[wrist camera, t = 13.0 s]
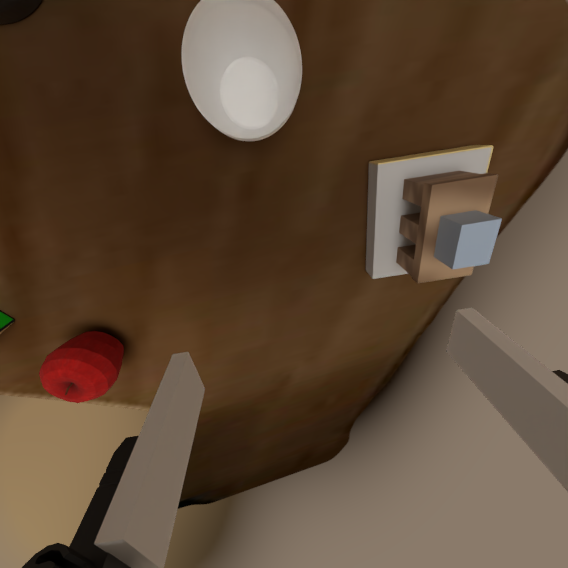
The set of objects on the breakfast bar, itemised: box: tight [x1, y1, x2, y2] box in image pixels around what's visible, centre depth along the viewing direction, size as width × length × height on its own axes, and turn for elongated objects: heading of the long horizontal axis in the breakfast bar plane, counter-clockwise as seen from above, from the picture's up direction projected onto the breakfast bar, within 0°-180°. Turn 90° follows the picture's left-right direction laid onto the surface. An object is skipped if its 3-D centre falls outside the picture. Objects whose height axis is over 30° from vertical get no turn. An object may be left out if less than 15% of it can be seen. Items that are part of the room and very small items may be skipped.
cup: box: [182, 0, 302, 141], centre depth 24 cm, size 9×9×12 cm
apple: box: [39, 331, 124, 403], centre depth 40 cm, size 10×10×11 cm
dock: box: [366, 145, 493, 279], centre depth 36 cm, size 16×14×3 cm
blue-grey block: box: [434, 210, 502, 270], centre depth 28 cm, size 5×4×4 cm
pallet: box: [396, 171, 498, 283], centre depth 32 cm, size 12×7×6 cm, turn 8°
